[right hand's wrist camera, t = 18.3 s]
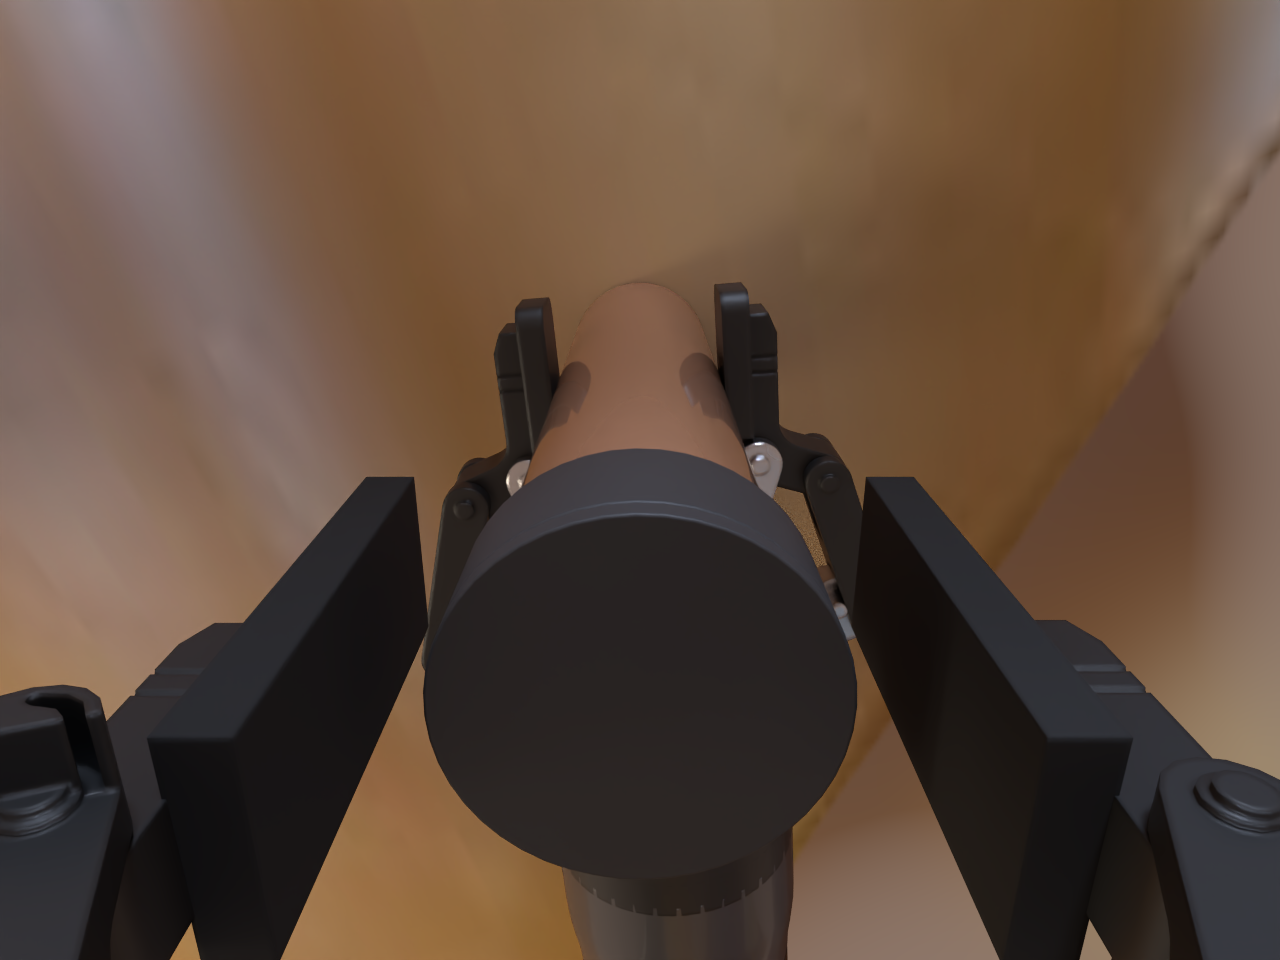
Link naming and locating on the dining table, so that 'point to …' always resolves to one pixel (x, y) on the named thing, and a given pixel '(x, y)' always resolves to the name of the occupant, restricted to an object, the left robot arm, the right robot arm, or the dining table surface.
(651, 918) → the left robot arm
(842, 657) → the lid
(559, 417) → the pinkish brown rounded rod
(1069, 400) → the dining table surface
